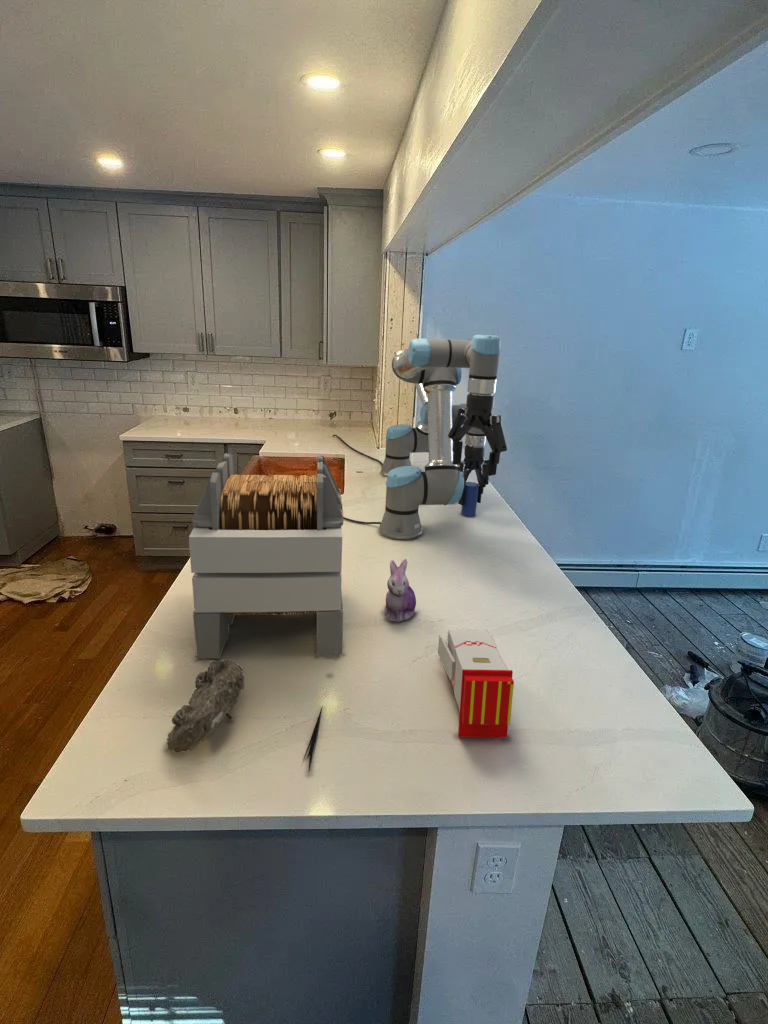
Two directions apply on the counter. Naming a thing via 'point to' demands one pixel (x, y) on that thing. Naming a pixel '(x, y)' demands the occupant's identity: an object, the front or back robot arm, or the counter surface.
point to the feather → (313, 740)
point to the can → (470, 499)
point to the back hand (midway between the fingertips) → (469, 503)
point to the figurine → (399, 594)
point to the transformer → (267, 553)
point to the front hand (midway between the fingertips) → (473, 469)
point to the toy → (478, 682)
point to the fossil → (206, 705)
